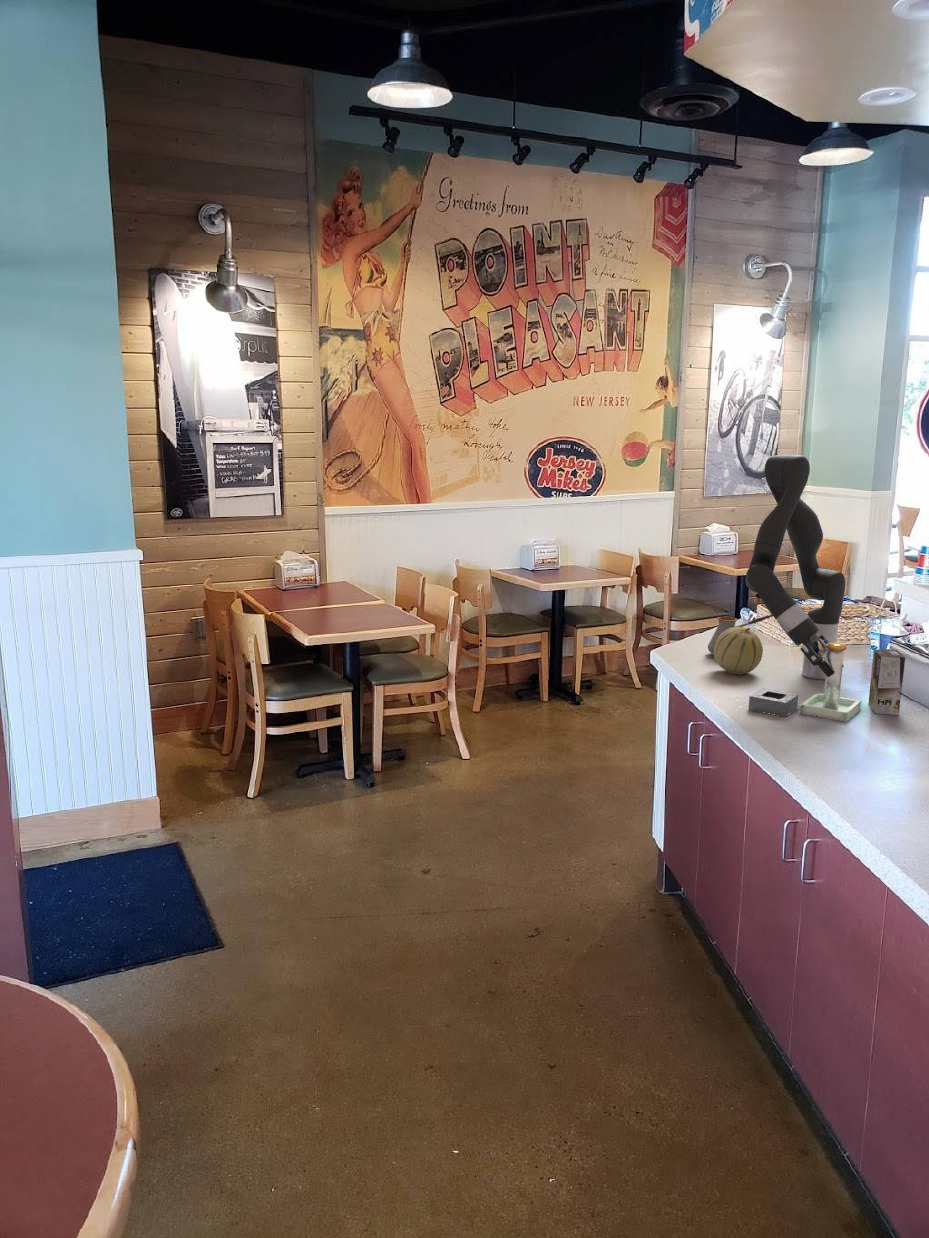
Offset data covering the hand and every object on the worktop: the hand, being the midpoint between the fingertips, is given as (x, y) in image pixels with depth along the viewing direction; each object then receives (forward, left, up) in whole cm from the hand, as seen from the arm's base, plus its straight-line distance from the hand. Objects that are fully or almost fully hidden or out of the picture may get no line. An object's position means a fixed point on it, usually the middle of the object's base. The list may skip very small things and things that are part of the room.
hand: (836, 671), depth 256 cm
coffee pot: (-43, -43, -11) cm, 62 cm away
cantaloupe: (-22, -36, -11) cm, 43 cm away
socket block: (+8, -14, -11) cm, 19 cm away
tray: (0, -1, -11) cm, 11 cm away
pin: (0, -1, -10) cm, 10 cm away
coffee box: (-11, +10, -11) cm, 19 cm away
